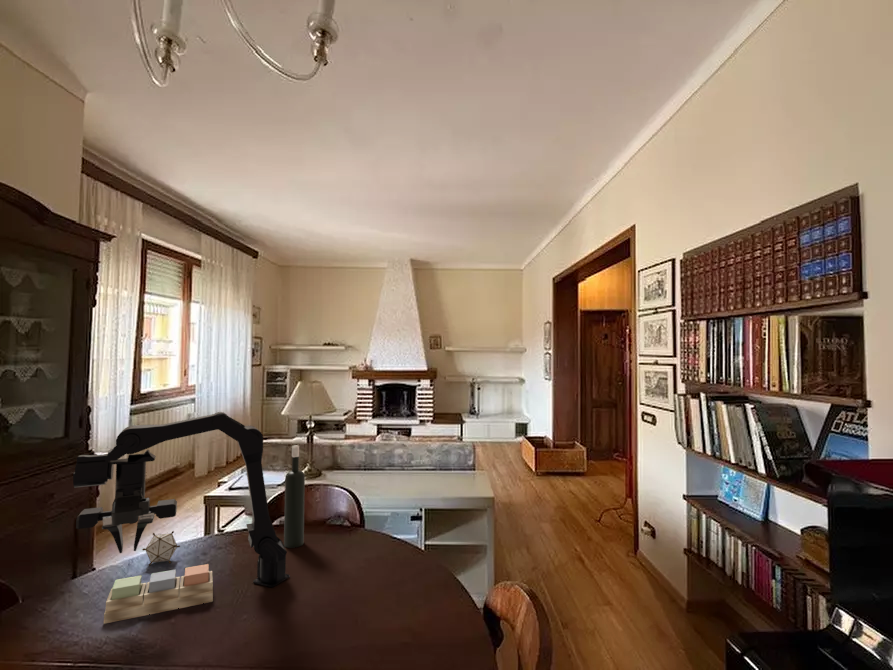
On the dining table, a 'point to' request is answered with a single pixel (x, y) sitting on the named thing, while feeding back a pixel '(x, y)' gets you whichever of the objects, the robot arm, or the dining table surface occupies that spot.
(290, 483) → the wine bottle
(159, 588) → the slate button
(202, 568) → the terracotta button
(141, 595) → the console
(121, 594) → the sage button
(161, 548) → the game die
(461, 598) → the dining table surface
